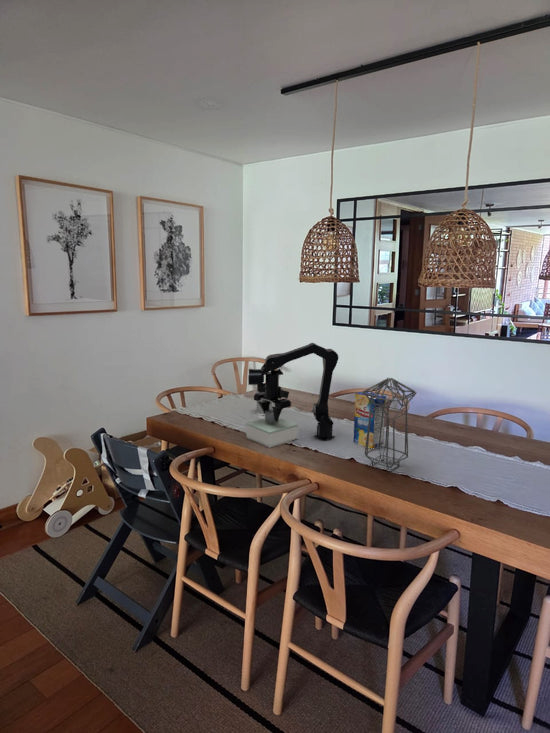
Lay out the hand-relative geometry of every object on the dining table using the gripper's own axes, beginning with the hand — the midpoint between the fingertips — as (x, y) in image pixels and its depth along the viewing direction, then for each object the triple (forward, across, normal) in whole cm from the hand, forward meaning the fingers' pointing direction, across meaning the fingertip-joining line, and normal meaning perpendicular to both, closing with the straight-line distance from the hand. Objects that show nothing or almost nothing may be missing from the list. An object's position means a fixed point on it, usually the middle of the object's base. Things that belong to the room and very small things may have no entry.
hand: (271, 419), depth 211 cm
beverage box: (+9, -32, -27) cm, 43 cm away
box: (+9, 0, 0) cm, 9 cm away
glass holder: (+9, +30, -24) cm, 40 cm away
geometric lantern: (+9, -51, -13) cm, 53 cm away
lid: (+3, 0, 0) cm, 3 cm away
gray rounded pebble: (+1, 0, 0) cm, 1 cm away
